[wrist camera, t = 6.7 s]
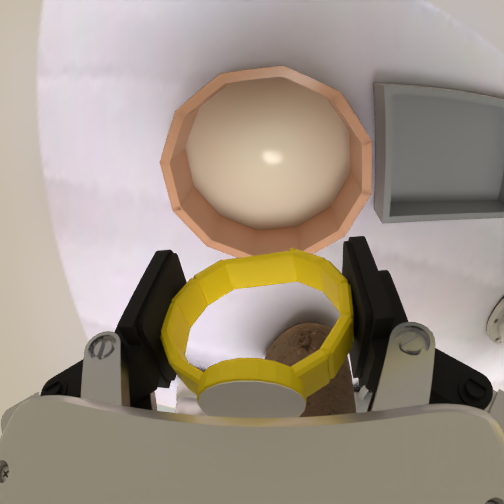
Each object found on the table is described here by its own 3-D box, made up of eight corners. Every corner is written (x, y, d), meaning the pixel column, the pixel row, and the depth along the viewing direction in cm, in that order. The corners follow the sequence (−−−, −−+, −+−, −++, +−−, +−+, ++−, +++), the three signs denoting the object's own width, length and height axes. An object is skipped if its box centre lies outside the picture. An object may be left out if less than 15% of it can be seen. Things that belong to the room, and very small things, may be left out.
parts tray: (512, 100, 18) (529, 107, 15) (500, 204, 24) (513, 217, 22) (373, 82, 20) (384, 85, 18) (373, 208, 26) (382, 223, 24)
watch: (331, 221, 11) (383, 356, 6) (336, 280, 12) (373, 411, 7) (172, 252, 12) (126, 386, 7) (196, 304, 13) (172, 432, 8)
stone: (301, 300, 33) (305, 488, 16) (352, 320, 34) (375, 488, 18) (254, 356, 39) (239, 503, 23) (299, 370, 41) (298, 508, 24)
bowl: (350, 63, 19) (368, 63, 15) (355, 225, 27) (367, 255, 23) (166, 84, 21) (143, 91, 17) (201, 236, 29) (189, 267, 25)
